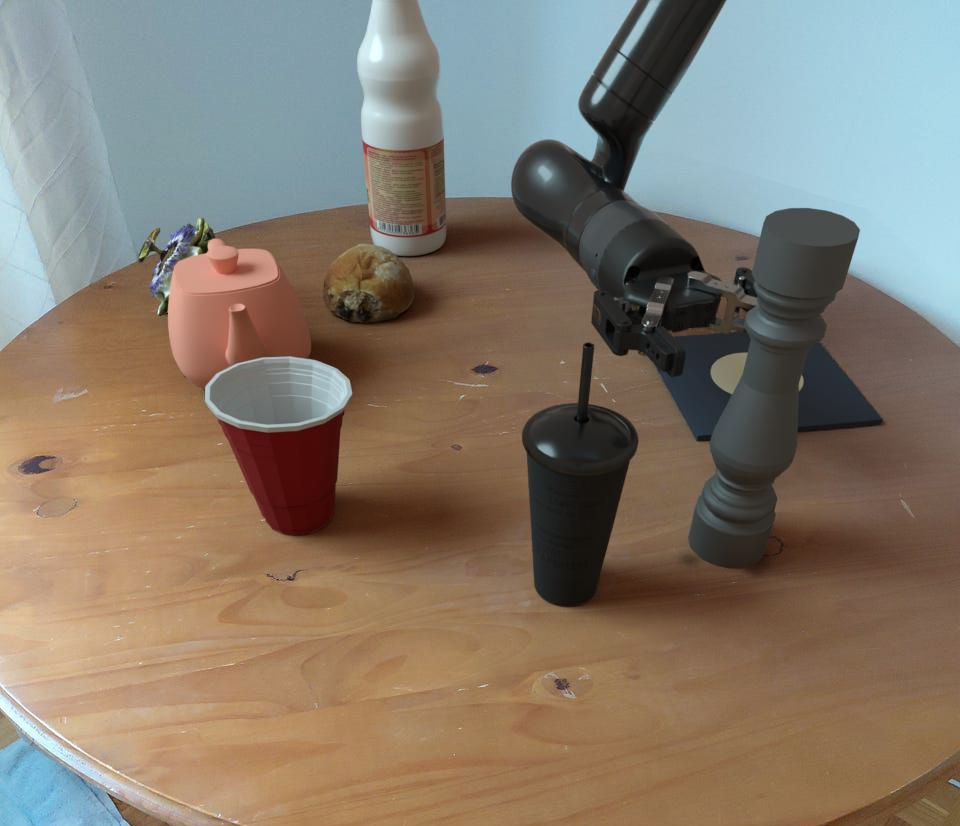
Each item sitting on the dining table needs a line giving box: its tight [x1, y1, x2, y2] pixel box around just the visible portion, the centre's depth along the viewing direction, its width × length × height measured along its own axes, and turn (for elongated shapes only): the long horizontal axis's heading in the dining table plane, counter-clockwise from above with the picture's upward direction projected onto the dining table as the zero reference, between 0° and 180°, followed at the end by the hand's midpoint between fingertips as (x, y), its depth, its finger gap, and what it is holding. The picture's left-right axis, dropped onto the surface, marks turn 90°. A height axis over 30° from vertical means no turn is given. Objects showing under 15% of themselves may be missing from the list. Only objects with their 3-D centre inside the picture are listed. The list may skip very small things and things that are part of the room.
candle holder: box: [687, 207, 861, 569], centre depth 63 cm, size 6×6×25 cm
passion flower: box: [137, 217, 217, 317], centre depth 96 cm, size 11×11×12 cm
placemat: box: [655, 331, 884, 442], centre depth 88 cm, size 18×18×1 cm
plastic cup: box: [204, 357, 353, 536], centre depth 70 cm, size 11×11×12 cm
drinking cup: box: [521, 341, 639, 607], centre depth 61 cm, size 8×8×20 cm
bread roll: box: [322, 243, 415, 324], centre depth 98 cm, size 10×10×8 cm
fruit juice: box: [356, 0, 447, 257], centre depth 101 cm, size 9×9×28 cm
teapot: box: [167, 238, 312, 390], centre depth 85 cm, size 13×20×12 cm, turn 19°
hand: (733, 355), depth 65 cm, fingers open, 8 cm apart
